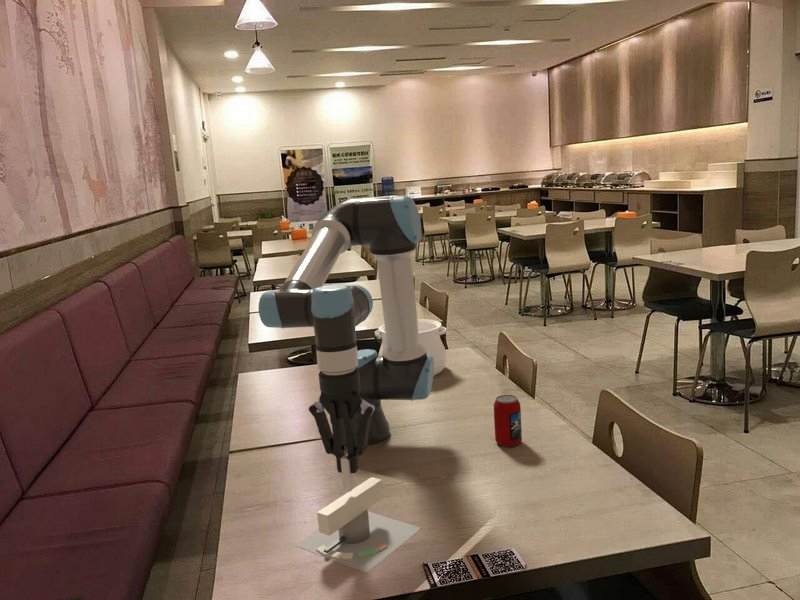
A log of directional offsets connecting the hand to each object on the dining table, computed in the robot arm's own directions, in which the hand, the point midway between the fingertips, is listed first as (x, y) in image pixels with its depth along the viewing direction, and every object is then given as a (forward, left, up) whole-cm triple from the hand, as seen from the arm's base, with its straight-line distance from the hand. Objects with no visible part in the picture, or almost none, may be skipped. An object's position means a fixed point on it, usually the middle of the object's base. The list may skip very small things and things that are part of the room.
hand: (349, 487), depth 125 cm
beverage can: (+5, +55, -12) cm, 57 cm away
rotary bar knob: (0, 0, -10) cm, 10 cm away
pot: (-54, +96, -12) cm, 111 cm away
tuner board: (+1, 0, -11) cm, 11 cm away
